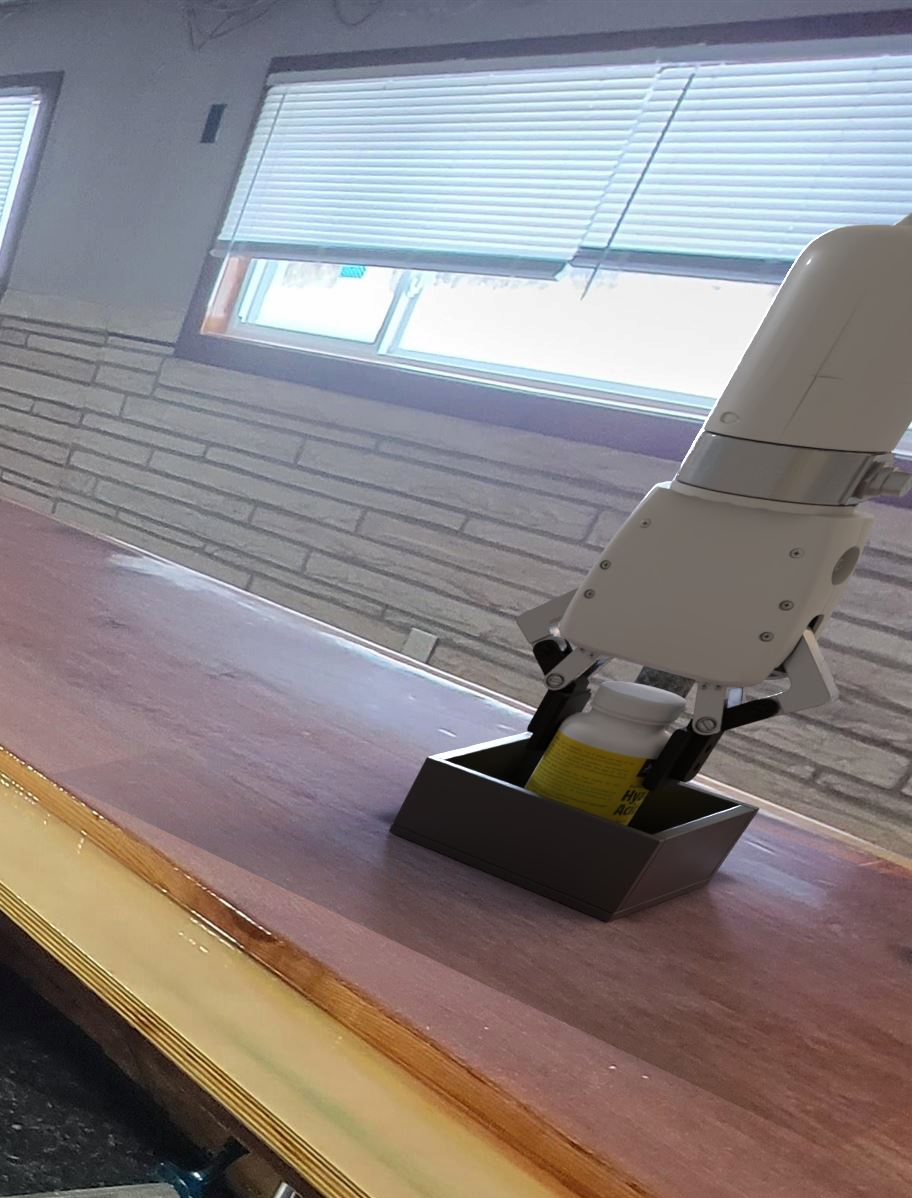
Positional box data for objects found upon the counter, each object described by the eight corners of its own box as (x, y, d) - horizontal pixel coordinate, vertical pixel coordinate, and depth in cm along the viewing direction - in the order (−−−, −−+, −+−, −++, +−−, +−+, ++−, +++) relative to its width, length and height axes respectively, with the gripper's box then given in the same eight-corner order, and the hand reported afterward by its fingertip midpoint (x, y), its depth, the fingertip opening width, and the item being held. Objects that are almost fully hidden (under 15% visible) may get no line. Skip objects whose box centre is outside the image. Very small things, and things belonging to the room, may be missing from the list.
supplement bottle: (605, 860, 76) (695, 715, 71) (497, 827, 79) (576, 687, 75) (621, 836, 79) (709, 695, 74) (517, 805, 82) (594, 669, 78)
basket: (488, 803, 87) (528, 731, 85) (707, 885, 78) (760, 807, 75) (387, 831, 83) (426, 756, 80) (607, 922, 73) (660, 841, 70)
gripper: (1025, 505, 63) (806, 815, 72) (620, 441, 76) (479, 710, 85) (966, 515, 60) (746, 837, 69) (556, 447, 73) (417, 724, 82)
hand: (600, 764), depth 77 cm, fingers closed on supplement bottle, 5 cm apart
